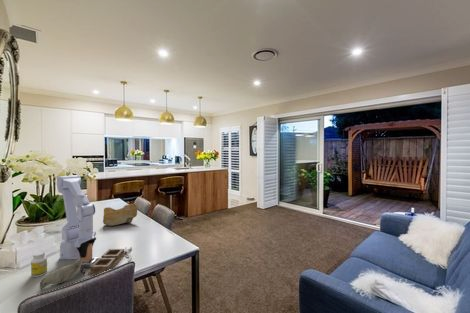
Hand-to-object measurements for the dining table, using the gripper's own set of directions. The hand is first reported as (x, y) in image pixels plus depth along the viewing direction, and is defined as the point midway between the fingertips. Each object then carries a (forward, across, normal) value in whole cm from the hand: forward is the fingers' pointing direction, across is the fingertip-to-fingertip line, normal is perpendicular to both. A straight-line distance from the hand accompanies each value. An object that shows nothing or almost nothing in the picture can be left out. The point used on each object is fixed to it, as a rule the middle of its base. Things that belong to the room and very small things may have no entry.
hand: (85, 254), depth 110 cm
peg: (+3, 0, 0) cm, 3 cm away
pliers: (+5, +9, -15) cm, 18 cm away
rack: (+5, +1, -10) cm, 12 cm away
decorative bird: (+5, -14, +1) cm, 15 cm away
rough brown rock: (+5, +62, +9) cm, 63 cm away
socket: (+5, 0, 0) cm, 5 cm away
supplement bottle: (+5, -8, +16) cm, 19 cm away
